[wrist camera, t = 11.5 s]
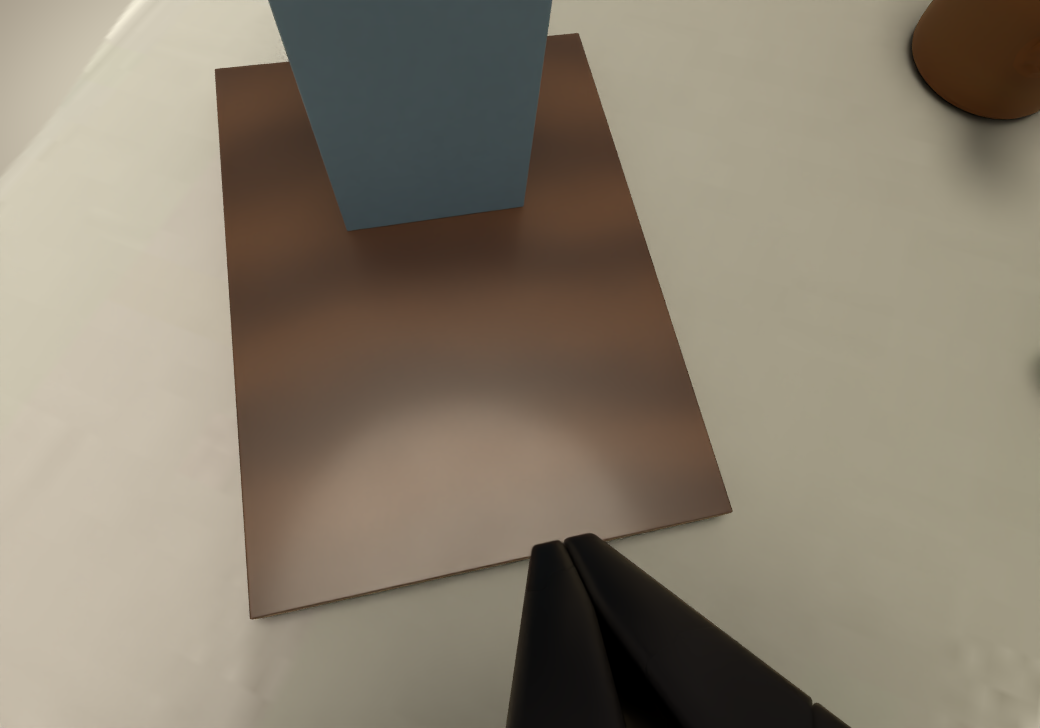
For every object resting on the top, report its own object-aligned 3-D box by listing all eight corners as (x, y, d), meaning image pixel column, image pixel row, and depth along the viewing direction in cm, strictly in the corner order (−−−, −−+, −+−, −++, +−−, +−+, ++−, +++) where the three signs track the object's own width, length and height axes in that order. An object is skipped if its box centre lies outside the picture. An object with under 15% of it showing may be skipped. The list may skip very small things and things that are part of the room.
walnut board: (720, 516, 22) (733, 512, 21) (262, 618, 20) (249, 619, 19) (574, 53, 29) (578, 32, 28) (224, 90, 27) (214, 68, 26)
